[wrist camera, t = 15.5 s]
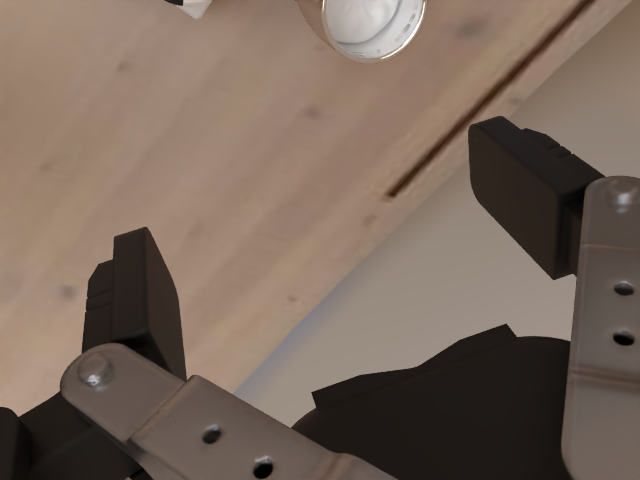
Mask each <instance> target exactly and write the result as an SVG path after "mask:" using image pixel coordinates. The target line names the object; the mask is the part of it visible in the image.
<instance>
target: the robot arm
mask: <svg viewBox="0 0 640 480" xmlns="http://www.w3.org/2000/svg"><path fill="white" fill-rule="evenodd" d="M468 143H469V163H470V181H471V186H472V189H473V192H474V195H475V197H476V199H477V200H478V202H479V203H480V204H481V205H482V206H483V207H484V208H485V209H486V210H487V212H488V213H489V214H490V215H491V216H492V217H494V219H495V220H496V221H497V222H498V223H499V224H500V225H501V226H502V227H503V228H504V229H505V230H506V231H507V232H508V233H509V234H510V236H512V237H513V239H514V240H515V241H516V242H517V243H518V244H519V245H520V246H521V247H522V248H523V249H524V250H525V251H526V252H527V253H528V254H529V255H530V256H531V257H532V258H533V260H534V261H535V262H536V263H537V264H538V265H539V266H540V267H541V268H542V269H543V270H544V271H545V272H546V273H547V274H548V275H549V276H550V277H551V278H552V279H553V280H556V279H558V278H561V277H564V276H567V275H570V274H574V275H575V276H576V277H577V281H576V292H575V302H574V314H573V325H572V334H571V341H567V340H563V339H558V338H551V337H541V336H540V337H539V336H527V337H526V336H525V337H516V335H515V334H514V333H513V331H512V330H511V329H510V328H509V326H508V325H507V324H504V325H501V326H498V327H495V328H492V329H489V330H487V331H484V332H481V333H478V334H475V335H473V336H470V337H467V338H464V339H461V340H459V341H457V342H456V343H454V344H453V345H451V346H449V347H448V348H447V349H445V350H443V351H442V352H440V353H438V354H437V355H435V356H434V357H432V358H431V359H429V360H427V361H426V362H424V363H423V364H421V365H419V366H417V367H414V368H410V369H402V370H394V371H387V372H379V373H372V374H365V375H359V376H356V377H354V378H351V379H348V380H345V381H342V382H339V383H336V384H334V385H331V386H328V387H325V388H322V389H320V390H317V391H314V392H311V393H312V396H313V399H314V402H315V405H316V408H315V409H313V410H312V411H310V412H309V413H307V414H306V415H305V416H303V417H302V418H301V419H300V420H298V421H297V422H296V423H295V424H294V425H293V426H292V427H291V428H289V427H288V426H286V425H284V424H282V423H281V422H279V421H277V420H276V419H274V418H272V417H270V416H269V415H267V414H265V413H264V412H262V411H260V410H258V409H257V408H255V407H253V406H252V405H250V404H248V403H246V402H245V401H243V400H241V399H239V398H238V397H236V396H234V395H233V394H231V393H229V392H227V391H226V390H224V389H222V388H220V387H219V386H217V385H215V384H214V383H212V382H210V381H208V380H207V379H205V378H203V377H201V376H198V375H192V376H191V377H190V378H189V379H188V380H187V377H186V367H185V357H184V348H183V338H182V328H181V318H180V309H179V300H178V295H177V291H176V288H175V285H174V282H173V279H172V277H171V275H170V273H169V270H168V268H167V266H166V264H165V262H164V260H163V258H162V256H161V253H160V251H159V249H158V247H157V245H156V243H155V241H154V239H153V236H152V234H151V232H150V231H149V229H148V228H147V227H143V228H140V229H137V230H133V231H130V232H127V233H124V234H121V235H118V236H115V237H114V249H113V260H109V261H106V262H103V263H100V264H98V266H97V268H96V269H95V271H94V272H93V274H92V276H91V277H90V279H89V281H88V291H87V297H88V299H87V301H86V311H87V312H85V322H84V332H83V342H82V353H81V355H80V356H78V357H77V358H76V359H75V360H74V361H73V362H72V363H71V364H70V365H69V366H68V367H67V369H66V370H65V372H64V374H63V376H62V378H61V381H60V391H59V392H58V393H57V394H55V395H54V396H53V397H51V398H50V399H48V400H47V401H45V402H43V403H42V404H40V405H38V406H36V407H35V408H33V409H31V410H30V411H28V412H26V413H25V414H23V415H21V416H20V417H18V416H17V415H16V414H15V413H14V412H13V411H12V410H11V409H9V408H5V407H0V480H640V179H639V178H635V177H630V176H609V177H605V176H604V175H603V174H601V173H600V172H598V171H597V170H596V169H594V168H593V167H591V166H590V165H589V164H587V163H586V162H584V161H583V160H581V159H580V158H579V157H577V156H576V155H574V154H571V152H570V151H569V150H567V149H566V148H565V147H563V146H561V147H560V144H559V143H557V142H556V141H555V140H553V139H552V138H550V137H549V136H548V135H546V134H543V133H540V132H537V131H533V130H530V129H527V128H525V129H522V130H521V129H519V128H518V127H517V126H515V125H514V124H513V123H511V122H510V121H509V120H507V119H506V118H504V117H503V116H497V117H494V118H491V119H488V120H485V121H481V122H478V123H475V124H472V125H471V126H470V127H469V130H468Z"/></svg>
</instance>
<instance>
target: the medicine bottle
mask: <svg viewBox="0 0 640 480" xmlns="http://www.w3.org/2000/svg"><path fill="white" fill-rule="evenodd" d="M165 1H167V2H169V3H172V4H174V5H175V6H177V7H178V8H180V9H181V10H182V11H184V12H185V13H187V14H188V15H190V16H191V17H193V18H194V19H200V18H201V17H202V16H203V14H204V13H205V11H206V10H207V8H208V7H209V5H210V3H211V2H212V1H213V0H165Z"/></svg>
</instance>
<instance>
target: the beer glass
mask: <svg viewBox="0 0 640 480" xmlns="http://www.w3.org/2000/svg"><path fill="white" fill-rule="evenodd" d="M295 1H297V3H298V6H299V8H300V11H301V13H302V15H303V17H304V19H305V21H306V22H307V23H308V25H309V26H310V27H311V29H312V30H313V31H314V32H315V33H316V35H318V36H319V37H320V38H321V39H322V40H323V41H324V42H325V43H327V44H328V45H329V46H331V47H332V48H333V49H335V50H336V51H337V52H339V53H340V54H341V55H342V56H344V57H346V58H347V59H349V60H352V61H355V62H359V63H378V62H382V61H385V60H388V59H390V58H392V57H394V56H396V55H397V54H399V53H400V52H402V51H403V50H404V49H405V48H406V47H407V46H408V45H409V44H410V43H411V42H412V41H413V39H414V38H415V37H416V35H417V33H418V32H419V30H420V28H421V26H422V24H423V21H424V18H425V15H426V10H427V3H428V0H295Z"/></svg>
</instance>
